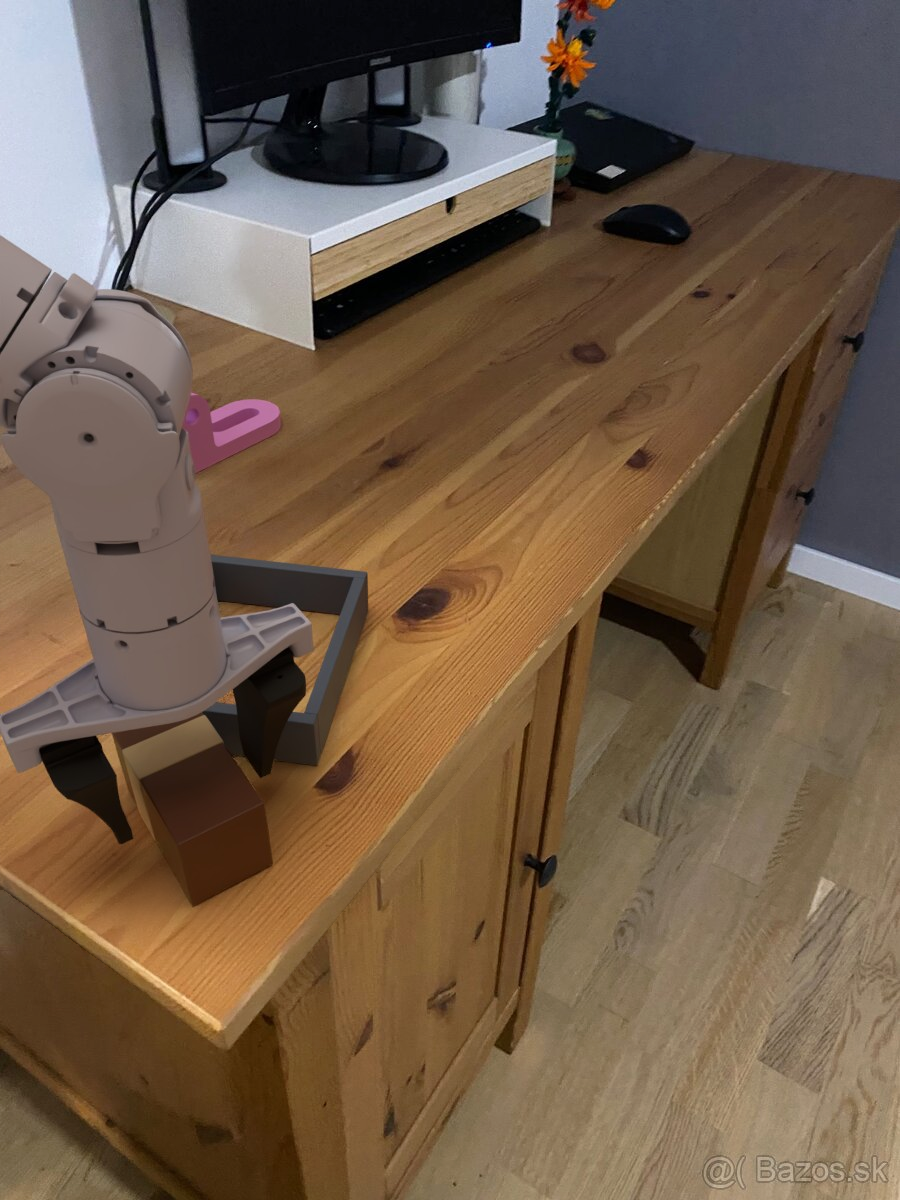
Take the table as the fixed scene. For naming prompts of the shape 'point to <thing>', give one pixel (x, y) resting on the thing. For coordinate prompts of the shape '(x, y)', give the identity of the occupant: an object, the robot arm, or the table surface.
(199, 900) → the brown tan banded block
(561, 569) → the table surface
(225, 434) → the bracket
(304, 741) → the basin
